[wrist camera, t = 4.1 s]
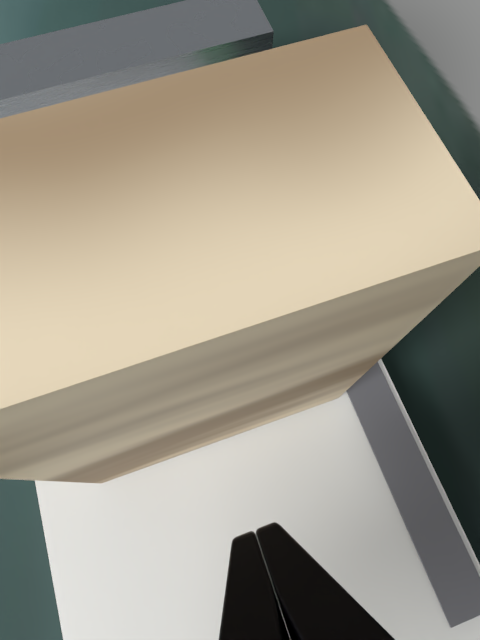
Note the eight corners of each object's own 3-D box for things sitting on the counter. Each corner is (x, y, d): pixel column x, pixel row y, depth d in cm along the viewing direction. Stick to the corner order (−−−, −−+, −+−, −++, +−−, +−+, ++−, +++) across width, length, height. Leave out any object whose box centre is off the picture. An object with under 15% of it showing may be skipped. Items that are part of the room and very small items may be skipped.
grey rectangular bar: (267, 120, 19) (273, 31, 16) (-16, 198, 18) (-84, 120, 14) (247, 79, 20) (249, -15, 16) (-25, 150, 19) (-90, 65, 15)
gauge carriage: (387, 380, 15) (630, 200, 6) (101, 483, 14) (-184, 470, 5) (339, 278, 16) (471, -3, 7) (74, 365, 15) (-189, 166, 6)
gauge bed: (507, 652, 13) (534, 668, 12) (113, 830, 12) (99, 870, 11) (247, 97, 21) (247, 73, 20) (-12, 166, 20) (-28, 145, 18)
